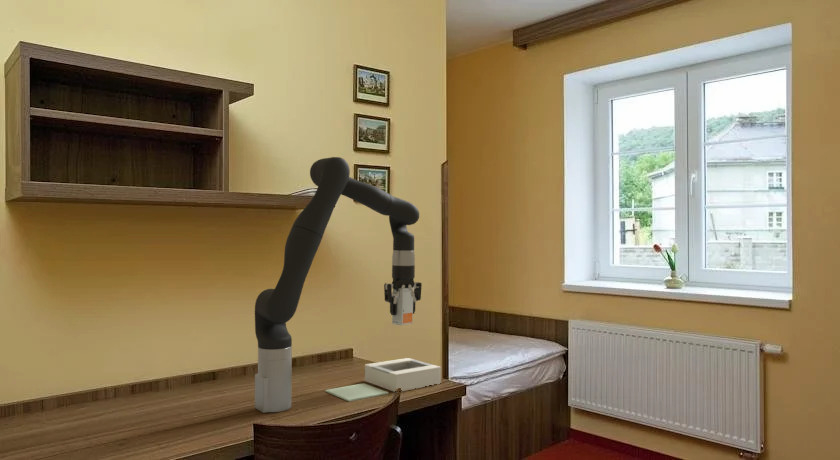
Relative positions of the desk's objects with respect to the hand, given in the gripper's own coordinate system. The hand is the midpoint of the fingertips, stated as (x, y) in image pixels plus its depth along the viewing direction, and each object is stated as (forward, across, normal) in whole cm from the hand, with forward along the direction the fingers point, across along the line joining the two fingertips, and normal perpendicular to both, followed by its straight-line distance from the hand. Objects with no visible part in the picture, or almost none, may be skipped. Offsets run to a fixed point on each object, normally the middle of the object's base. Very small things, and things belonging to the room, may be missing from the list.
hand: (402, 314), depth 197 cm
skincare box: (+3, 0, 0) cm, 3 cm away
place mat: (+23, -19, -2) cm, 29 cm away
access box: (+22, 0, 0) cm, 22 cm away
